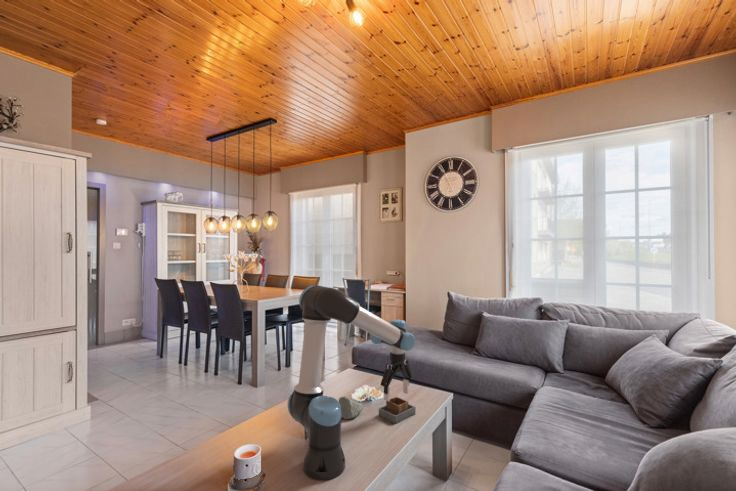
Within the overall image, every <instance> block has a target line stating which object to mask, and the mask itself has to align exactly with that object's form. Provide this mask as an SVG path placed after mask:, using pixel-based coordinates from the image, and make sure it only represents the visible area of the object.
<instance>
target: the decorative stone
mask: <svg viewBox="0 0 736 491" xmlns="http://www.w3.org/2000/svg"><path fill="white" fill-rule="evenodd" d="M338 402H339V403H340V406H341V414H342V416H341V419H343V420H351V419H353V418H356V417H357V416H358V415H359V413H361V412H362V411H363V409H364V407H363V404H362V403H361V402H357V401H356V400H352V399H351V398H349V397H346V396H340V397H339V398H338Z"/></svg>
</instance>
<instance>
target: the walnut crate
mask: <svg viewBox="0 0 736 491" xmlns="http://www.w3.org/2000/svg"><path fill="white" fill-rule="evenodd" d="M385 401H386V400H385ZM408 404H409V401H407V400H405V399H403V398H400V397H398V396H394V397H392V398H390V401H386V411H387V412H389V413H391V414H393V415H398V414H400V413H402V412H404V411H406V410H408Z"/></svg>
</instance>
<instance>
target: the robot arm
mask: <svg viewBox="0 0 736 491" xmlns="http://www.w3.org/2000/svg"><path fill="white" fill-rule="evenodd" d="M298 305H299V307H300V309H301V310H302V315H301V316H302V317H301V319H302V320H303V321H304V332H303V341H302V350H301V359H300V368H299V369H300V370H299V376H298V378H299V379H298V383H297V384H296V385H294V388H293V391H292V393H291V394H290V395H289V397H288V400H287V410H288V413H289V414H290V416H291V417H292V419H294V421H295V422H298V423H299V424H300V425H301V426H302V427H303V428H305V429H306V430H307V431H308V446H307V450H306V453H305V457H304V460H303V465H302V466H303V468H302V469H303V472H304V474H305V475H306V476H307V477H308V478H310V479H313V480H317V481H326V480H331V479H334V478H336V477H339V476H340V475H341V474H343V472H344V471H345V468H346V457H345V454H344V450H343V447H342V443H341V441H342V440H341V439H342V436H341V434H342V417H341V416H342V414H341V406H340V403H339V400H337V399H336V398H335V397H332V396H328V395H324V387H323V386H322V384H321V380H322V371H323V360H324V354H325V353H324V352H325V351H324V350H325V344H326V343H325V341H326V332H327V325H328V324H329V323H330V322H331V321H332V320H335V321H339V322H341V323H344V324H346V325H349V324H351V325H353V326H355V327H356V328H359V329H361V330H363V331H365V332H367V333H369V338H370V341H371V342H372V344H374V345H380V344H384V345H387V346H389V352H390V353H389V361H390V364H388V363H386V364H385V370H384V372H383V376H382V378H381V381H380V386H382V387H383V394H384V396H383V397H384V398H383V400H385V401H390V399H391V398H390V396H391V392H390V391H391V387H390V385H391V383H392V381H393V378H394V377H395V375H396V374H397V373H401V375H402V376H403V381H402V382H403V384H402V392H403V394H406V395H408V394H409V386H410V381H411V380H412V378H413V375H412V371H411V368H410V365H409V360H408V359H406V352H410V351H411V350H413V348H414V347H415V344H416V339H415V338H416V337H415V336H414V335H413V334H412V333H410V332H408V331H407V324H406V323H407V322H406V320H403V319H392V320H391V321H390V323H389V322H388V321H386V320H384V319H383V318H381V317H380V316H378V315H376V314H374V313H372V312H370V311H369V310H367V309H366V308H364V307H362V306H361V305H360V303H359V302H358V301H356V300H355V299H353V297H351V296H349V295H348V294H346V293H343V291H341V290H339V289H336V288H334V287H328V286H324V285H323V286H322V285H310V286H308V287H305V288H304V289H303V291H301V294H300V296H299V300H298Z"/></svg>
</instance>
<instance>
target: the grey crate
mask: <svg viewBox="0 0 736 491" xmlns="http://www.w3.org/2000/svg"><path fill="white" fill-rule="evenodd" d="M416 410H417V409H416V406H415V405H412V404H409V403H408V410H406V411H404V412H402V413H400V414H398V415H393V414H391V413H389V412H387V411H386V405H385V404H384V405H383V406H380V407H378V417H380V418H382V419H385V420H386V421H389V422H391V423H393V424H395V425H397V424H398V423H401V422H403V421H404V420H407V419H409V418H411V417H413V416H415V415H416Z"/></svg>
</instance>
